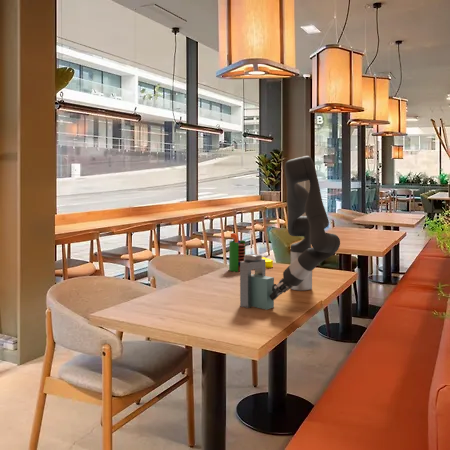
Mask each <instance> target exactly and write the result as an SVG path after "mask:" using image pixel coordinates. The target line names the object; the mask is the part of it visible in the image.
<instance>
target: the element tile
mask: <svg viewBox="0 0 450 450" xmlns="http://www.w3.org/2000/svg"><path fill="white" fill-rule="evenodd" d="M262 259H265V269H271V268H272V267H274V260H272V259H271V258H267V257H264V256H262Z"/></svg>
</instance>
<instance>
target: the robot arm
mask: <svg viewBox="0 0 450 450" xmlns="http://www.w3.org/2000/svg"><path fill="white" fill-rule="evenodd" d="M284 176H285V181H286V182H285V183H286V206H287V232H288V235H289V236H291V237H303V238H302V240H300V241H298V242H295V243H293V244H291V245H290V264H289V265H288V267H286V269H284V270H283V272H282V277H283V278H281V279H280V280H279V282H278V283H274V285H273V287H272V291H273V293H272V294H271V295H270V296H269V297H270V298H271V300H274V301H275V300H276V299H277V298H278V297H279V296H281V295H282V294H284V293H286V292H287V291H289V290H290V289H291V290H295V291H308V290H313V270H314V269H316V267H317V266H319V264H320V263H323V262H324V261H326V260H327V259H329V258H331V257H332V256H333V255H335V254H336V253H337V252H338V250H339V249H340V246H341V239H340V237H339V236H338V235H336V234H335V233H330V232H326V231H325V229H327V228H328V227H329V225H330V222H329V217H328V214H327V212H326V208H325V206H324V203H323V198H322V194H321V189H320V184H319V179H318V174H317V170H316V167H315V163H314V161H313V159H312V157H311V156H309V155H304V156H299V157H296V158H291V159H289V160H287V161H285V163H284ZM307 181H309V190H307V189H306V188H305V187H304V186H302V185H301V184H300V183H304V182H307Z"/></svg>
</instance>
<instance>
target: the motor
mask: <svg viewBox="0 0 450 450" xmlns="http://www.w3.org/2000/svg"><path fill="white" fill-rule="evenodd" d="M230 238H234V240H230V241H229V247H228V250H229V252H228V253H229V255H228V258H229V259H228V260H229V261H228V270H229V271H230V272H235V273H236V272H237V273H238V272H240V262H242V261H244V255H246V240H243V239H242V240H239V238H238V234H237V233H230Z"/></svg>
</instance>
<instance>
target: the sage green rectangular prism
mask: <svg viewBox="0 0 450 450" xmlns="http://www.w3.org/2000/svg"><path fill="white" fill-rule="evenodd" d="M274 284H275V277H274V276H267V275H265V276H262V275H256V274H255V273H251V308H252V307H253V308H257V309H262V310H270V309H273V308H274V305H275V300H271V298H270V297H269V296H270V295H271V294H272V293H273V291H272V287H273V285H274Z"/></svg>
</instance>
